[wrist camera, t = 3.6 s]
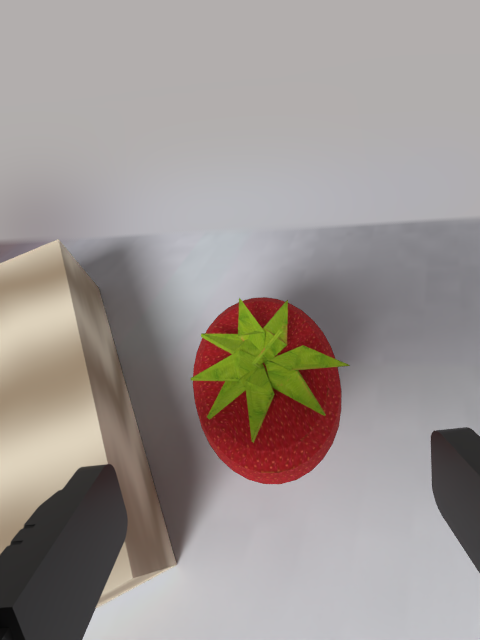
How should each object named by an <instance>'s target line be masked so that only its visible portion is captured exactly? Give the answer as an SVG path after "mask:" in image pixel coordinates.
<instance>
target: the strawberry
mask: <svg viewBox="0 0 480 640" xmlns="http://www.w3.org/2000/svg"><path fill="white" fill-rule="evenodd" d="M201 337H202V341H201V343H200V346H199V348H198V351H197V355H196V359H195V364H194V373H193V377H192V378H191V380H192V381H193V389H194V397H195V404H196V408H197V412H198V416H199V419H200V423H201V426H202V429H203V431H204V433H205V436H206V438H207V440H208V442H209V444H210V445H211V447H212V448H213V450H214V451H215V452H216V454H217V455H218V457H219V458H220V459H221V460H222V461H223V462H224V463H225V464H226V465H227V466H228V467H230V468H231V469H232V470H233V471H234V472H236V473H238V474H240V475H241V476H243V477H245V478H247V479H249V480H252V481H256V482H259V483H263V484H282V483H286V482H290V481H293V480H297V479H299V478H300V477H302V476H304V475H305V474H307V473H309V472H310V471H312V470H313V469H314V468H315V467H316V466H317V465H318V464H319V463H320V461H321V460H322V459H323V458H324V457H325V455H326V453H327V452H328V450H329V449H330V447H331V445H332V444H333V441H334V438H335V435H336V433H337V430H338V427H339V421H340V414H341V385H340V378H339V373H338V367H341V366H349V365H348V364H346V363H343V362H341V361H339V360H336V359H335V357H334V354H333V351H332V348H331V346H330V344H329V342H328V341H327V339H326V337H325V335H324V334H323V332H322V331H321V329H320V328H319V327H318V326H317V325H316V323H315V322H314V321H313V320H312V319H311V318H310V317H309V316H308V315H306V314H305V313H304V312H303V311H302V310H300V309H298V308H297V307H295V306H293V305H292V304H290V303H288V300H287V301H286V302H284V301H281V300H278V299H272V298H265V297H264V298H252V299H248V300H244V301H242V300H241V299H240V298H239V303H237V304H235V305H233V306H231V307H229V308H228V309H226V310H225V311H224V312H223V313H221V314H220V315H219V316H218V317H217V318H216V319H215V320H214V322H213V323H212V324H211V325H210V326H209V328H208V330H207V331H206V333H205V334H201Z"/></svg>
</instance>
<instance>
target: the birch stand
mask: <svg viewBox="0 0 480 640" xmlns="http://www.w3.org/2000/svg"><path fill="white" fill-rule="evenodd" d="M105 464H111V465H112V466H113V467H114V469H115V471H116V474H117V478H118V482H119V486H120V489H121V493H122V497H123V500H124V504H125V508H126V511H127V517H128V526H127V534H126V538H125V541H124V543H123V546H122V548H121V550H120V553H119V555H118V557H117V560H116V562H115V564H114V567H113V569H112V571H111V574H110V576H109V578H108V581H107V583H106V585H105V587H104V590H103V592H102V594H101V597H100V599H99V601H98V604H97V606H96V608H97V607H99V606H101V605H103V604H105V603H107V602H108V601H110V600H112V599H114V598H116V597H118V596H120V595H122V594H123V593H125V592H127V591H129V590H131V589H133V588H135V587H137V586H138V585H140V584H142V583H144V582H146V581H148V580H150V579H152V578H153V577H155V576H157V575H159V574H161V573H163V572H165V571H167V570H168V569H170V568H172V567H174V566H176V565H177V564H176V560H175V557H174V553H173V550H172V546H171V543H170V539H169V535H168V532H167V528H166V525H165V521H164V518H163V514H162V511H161V507H160V504H159V500H158V496H157V493H156V489H155V486H154V482H153V479H152V475H151V472H150V468H149V465H148V461H147V457H146V454H145V450H144V447H143V443H142V440H141V436H140V433H139V429H138V426H137V422H136V418H135V415H134V411H133V408H132V404H131V401H130V397H129V394H128V390H127V387H126V383H125V379H124V376H123V372H122V369H121V365H120V362H119V358H118V355H117V351H116V347H115V344H114V340H113V337H112V333H111V330H110V326H109V323H108V319H107V316H106V312H105V308H104V305H103V301H102V298H101V294H100V291H99V288H98V286H97V285H96V284H95V283H94V282H93V280H92V279H91V278H90V277H89V276H88V274H87V273H86V272H85V271H84V270H83V268H82V267H81V266H80V265H79V264H78V262H77V261H76V260H75V259H74V257H73V256H72V255H71V254H70V253H69V251H68V250H67V249H66V248H65V247H64V245H63V244H62V243H61V242H60V241H59V239H58V240H56V241H53V242H51V243H48V244H46V245H44V246H41V247H39V248H36V249H34V250H32V251H29V252H27V253H24V254H22V255H20V256H17V257H15V258H12V259H10V260H7V261H5V262H3V263H0V554H1V553H2V552H3V550H4V549H5V548H6V547H7V546H10V544H11V540H12V539H13V538H14V537H15V535H16V534H17V533H18V532H19V530H20V529H23V528H24V524H25V523H26V522H27V520H28V519H29V518H30V517H31V515H32V514H33V513H34V512H35V510H36V509H37V508H38V507H39V506H40V505H41V504H42V503H44V502H45V501H46V500H47V499H49V498H50V497H51V496H52V495H53V494H55V493H56V492H57V491H58V490H62V489H63V488H64V487H65V485H66V484H67V483H68V481H69V480H70V479H71V477H72V476H73V475H74V473H75V472H76V471H77V470H78V469H79V468H80V467H86V466H95V465H105Z"/></svg>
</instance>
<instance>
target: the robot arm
mask: <svg viewBox="0 0 480 640" xmlns="http://www.w3.org/2000/svg"><path fill="white" fill-rule="evenodd" d="M431 463H432V489H433V494H434V498H435V501H436V504H437V506H438V509H439V511H440V513H441V514H442V516H443V518H444V519H445V521H446V522H447V524H448V525H449V527H450V528H451V530H452V531H453V533H454V535H455V536H456V538H457V539H458V541H459V542H460V544H461V545H462V547H463V548H464V550H465V551H466V553H467V554H468V556H469V558H470V559H471V561H472V562H473V564H474V565H475V567H476V568H477V570H478V571H479V573H480V436H479V435H477V434H476V433H475V432H474V431H473V430H472V429H470V428H467V427H465V428H456V429H446V430H437V431H433V433H432V435H431ZM127 526H128V517H127V511H126V508H125V504H124V500H123V497H122V493H121V489H120V486H119V482H118V478H117V474H116V471H115V469H114V467H113V466H112V465H111V464H105V465H95V466H86V467H80V468H79V469H78V470H77V471H76V472H75V473H74V475H73V476H72V477H71V479H70V480H69V481H68V483H67V484H66V485H65V487H64V488H63V489H62V490H58V491H57V492H56V493H55V494H53V495H52V496H51V497H50V498H49V499H47V500H46V501H45V502H44V503H42V504H41V505H40V506H39V507H38V508H37V509H36V510H35V512H34V513H33V514H32V515H31V517H30V518H29V519H28V520H27V522H26V523H25V524H24V528H23V529H20V530H19V532H18V533H17V534H16V535H15V537H14V538H13V539H12V540H11V544H10V546H7V547H6V548H5V549H4V550H3V552H2V553H1V554H0V640H82V639H83V636H84V634H85V632H86V629H87V627H88V625H89V622H90V620H91V618H92V615H93V613H94V611H95V608H96V606H97V604H98V601H99V599H100V597H101V594H102V592H103V590H104V587H105V585H106V583H107V581H108V578H109V576H110V574H111V571H112V569H113V567H114V564H115V562H116V560H117V557H118V555H119V553H120V550H121V548H122V546H123V543H124V541H125V538H126V534H127Z"/></svg>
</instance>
